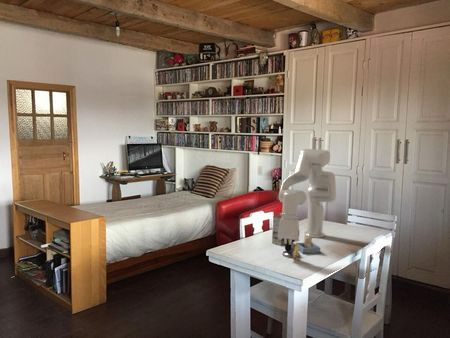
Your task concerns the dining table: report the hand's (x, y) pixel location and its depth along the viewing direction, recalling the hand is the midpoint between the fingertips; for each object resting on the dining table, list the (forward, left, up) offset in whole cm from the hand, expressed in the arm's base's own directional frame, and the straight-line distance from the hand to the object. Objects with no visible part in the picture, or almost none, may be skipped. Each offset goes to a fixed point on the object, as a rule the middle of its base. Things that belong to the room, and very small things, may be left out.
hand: (288, 251), depth 199 cm
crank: (-3, +4, -3) cm, 6 cm away
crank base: (-5, +4, -4) cm, 8 cm away
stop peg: (-12, +16, -3) cm, 21 cm away
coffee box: (-28, +6, -5) cm, 29 cm away
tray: (-12, +16, -4) cm, 21 cm away
